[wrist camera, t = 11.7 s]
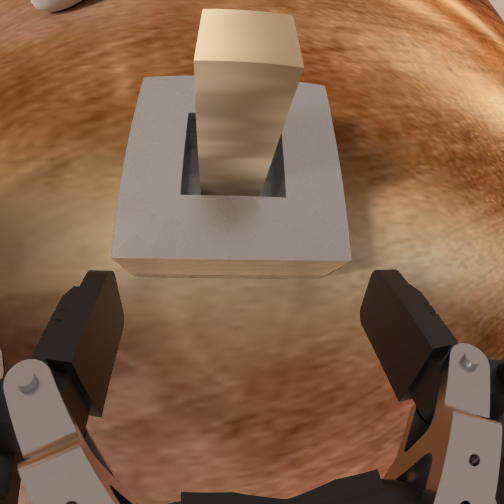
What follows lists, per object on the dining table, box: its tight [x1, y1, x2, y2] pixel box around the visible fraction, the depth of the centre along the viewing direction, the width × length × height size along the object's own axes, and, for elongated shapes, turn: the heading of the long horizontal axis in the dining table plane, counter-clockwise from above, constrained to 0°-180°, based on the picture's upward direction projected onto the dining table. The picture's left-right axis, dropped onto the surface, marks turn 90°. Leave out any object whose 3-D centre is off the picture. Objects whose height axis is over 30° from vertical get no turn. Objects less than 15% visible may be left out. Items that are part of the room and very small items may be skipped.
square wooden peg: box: [194, 9, 304, 197], centre depth 14 cm, size 3×3×12 cm
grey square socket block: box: [111, 76, 352, 278], centre depth 19 cm, size 12×12×5 cm
